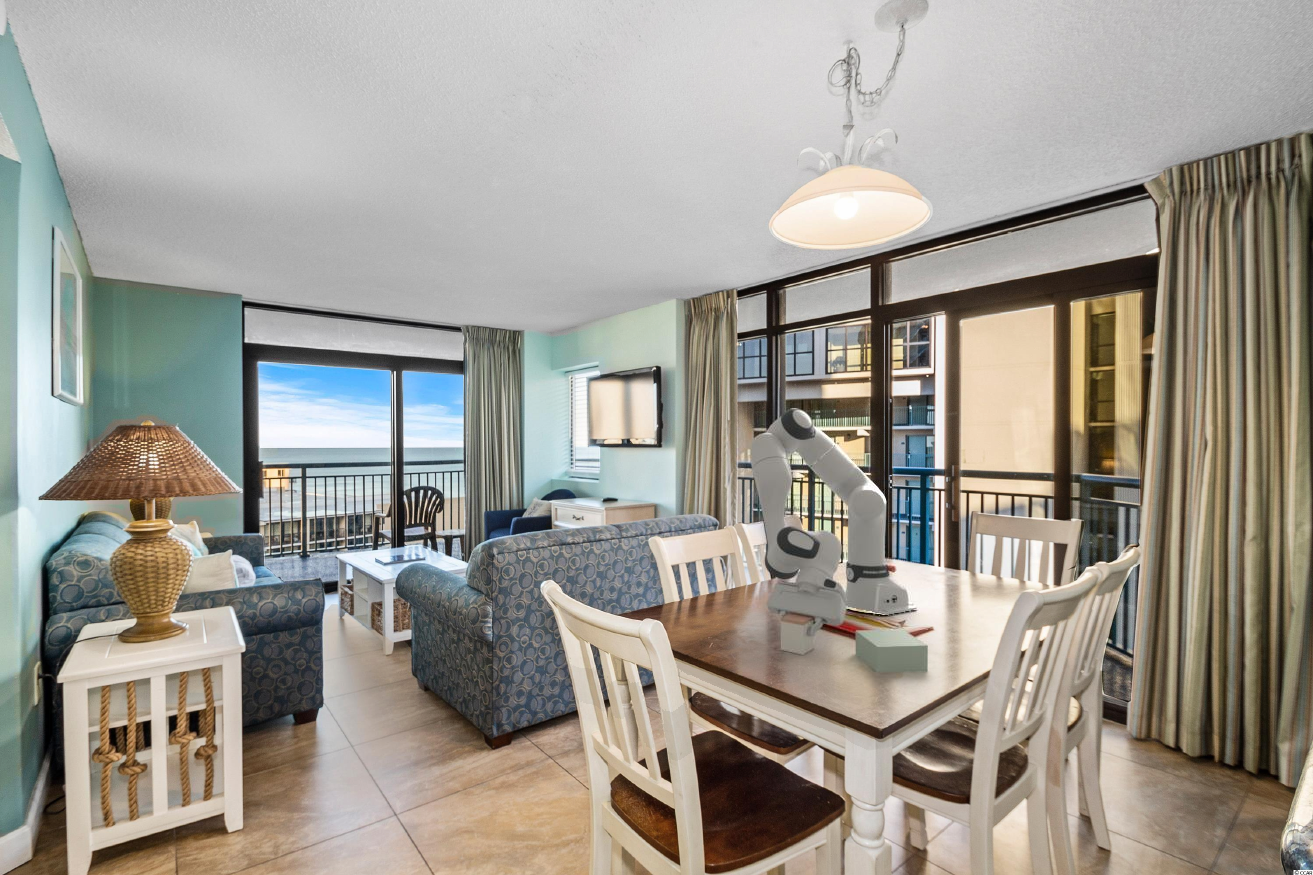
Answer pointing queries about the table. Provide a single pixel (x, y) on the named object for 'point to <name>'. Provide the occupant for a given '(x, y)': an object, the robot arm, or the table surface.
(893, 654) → the green box
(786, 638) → the white brown-topped block
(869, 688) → the table surface
